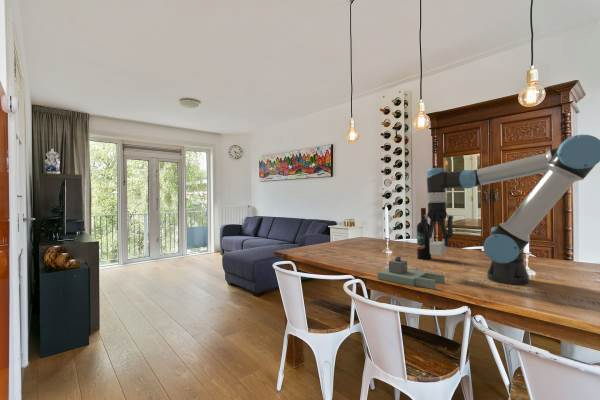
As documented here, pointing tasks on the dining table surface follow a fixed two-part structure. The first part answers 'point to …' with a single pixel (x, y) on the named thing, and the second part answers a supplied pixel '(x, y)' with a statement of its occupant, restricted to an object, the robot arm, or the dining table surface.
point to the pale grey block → (436, 248)
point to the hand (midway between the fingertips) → (438, 252)
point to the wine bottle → (422, 240)
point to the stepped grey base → (409, 275)
